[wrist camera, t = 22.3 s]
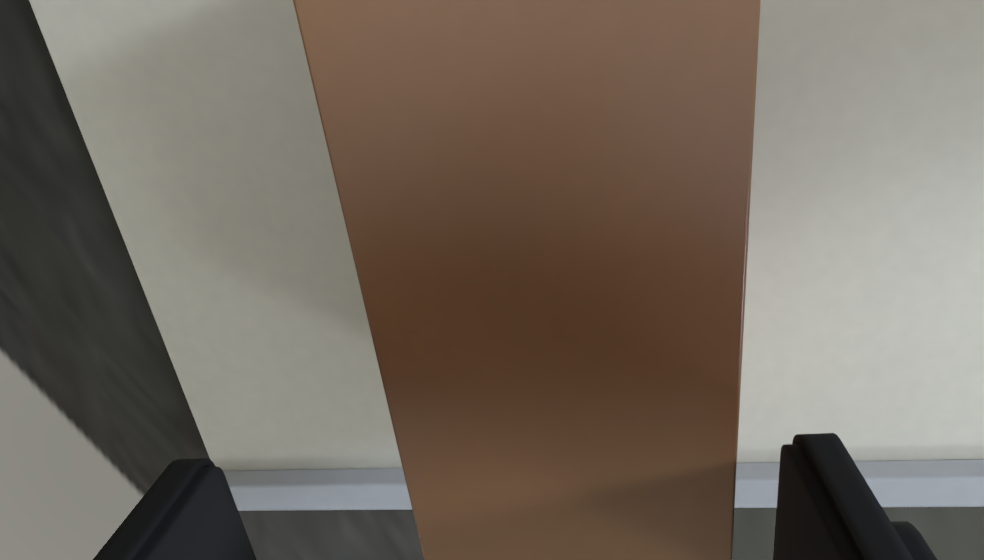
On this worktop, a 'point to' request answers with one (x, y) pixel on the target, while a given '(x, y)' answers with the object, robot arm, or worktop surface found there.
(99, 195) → the worktop surface
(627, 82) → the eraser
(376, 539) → the worktop surface
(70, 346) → the worktop surface
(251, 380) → the memo board
